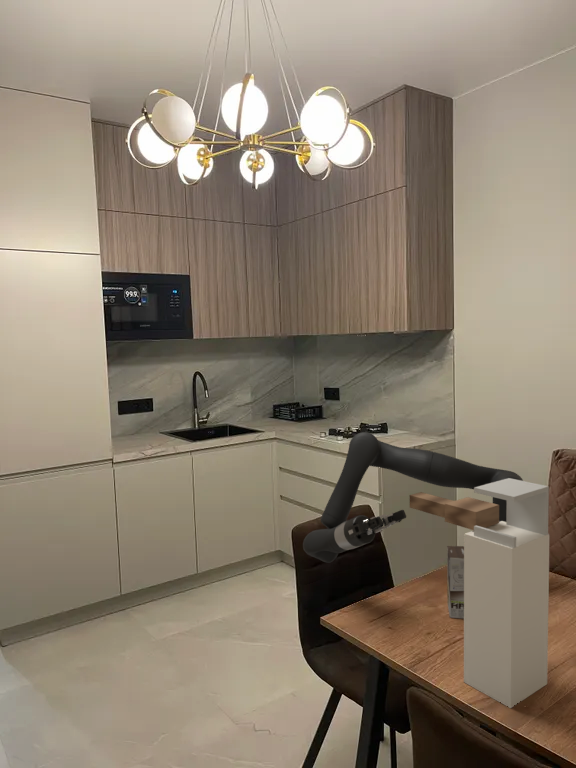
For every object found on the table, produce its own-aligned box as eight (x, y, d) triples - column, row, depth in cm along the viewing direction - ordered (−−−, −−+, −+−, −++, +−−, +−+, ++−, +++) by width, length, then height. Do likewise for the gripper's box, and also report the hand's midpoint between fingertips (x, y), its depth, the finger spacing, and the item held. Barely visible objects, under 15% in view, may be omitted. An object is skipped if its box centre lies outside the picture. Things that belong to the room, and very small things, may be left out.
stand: (463, 682, 123) (464, 486, 119) (500, 660, 130) (502, 476, 127) (510, 708, 114) (512, 497, 110) (547, 683, 121) (550, 485, 118)
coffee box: (475, 620, 149) (475, 558, 148) (449, 618, 150) (449, 557, 149) (471, 603, 158) (471, 545, 157) (446, 602, 159) (446, 544, 158)
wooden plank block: (403, 509, 137) (403, 492, 137) (426, 502, 142) (426, 486, 141) (475, 531, 121) (475, 512, 120) (499, 523, 125) (499, 504, 125)
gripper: (329, 524, 155) (366, 507, 143) (368, 514, 163) (406, 497, 151) (339, 552, 152) (377, 538, 140) (378, 540, 161) (417, 525, 149)
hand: (392, 517), depth 146 cm, fingers open, 8 cm apart
